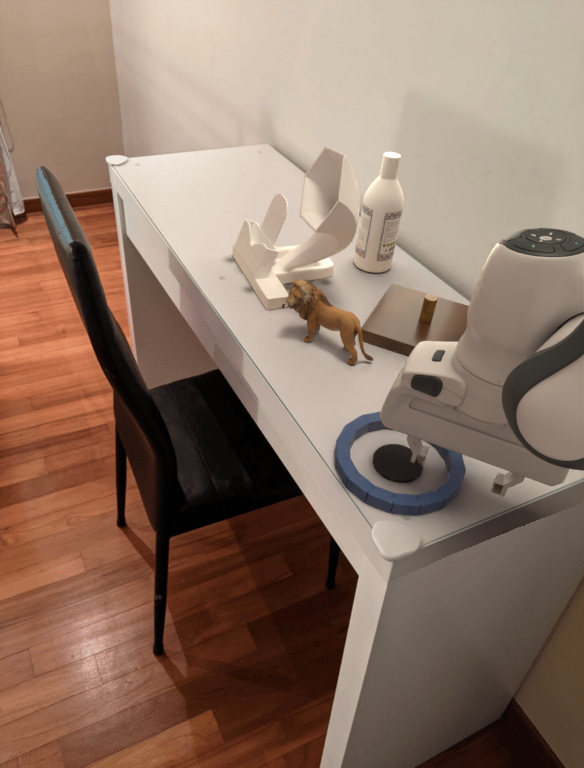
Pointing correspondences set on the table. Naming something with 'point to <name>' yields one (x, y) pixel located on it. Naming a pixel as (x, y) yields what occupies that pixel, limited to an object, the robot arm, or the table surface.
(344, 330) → the lion figurine
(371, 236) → the bath foam
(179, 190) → the table surface
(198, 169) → the table surface
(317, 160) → the jewelry stand
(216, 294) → the table surface
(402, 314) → the platform
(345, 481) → the ring
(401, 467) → the mat
